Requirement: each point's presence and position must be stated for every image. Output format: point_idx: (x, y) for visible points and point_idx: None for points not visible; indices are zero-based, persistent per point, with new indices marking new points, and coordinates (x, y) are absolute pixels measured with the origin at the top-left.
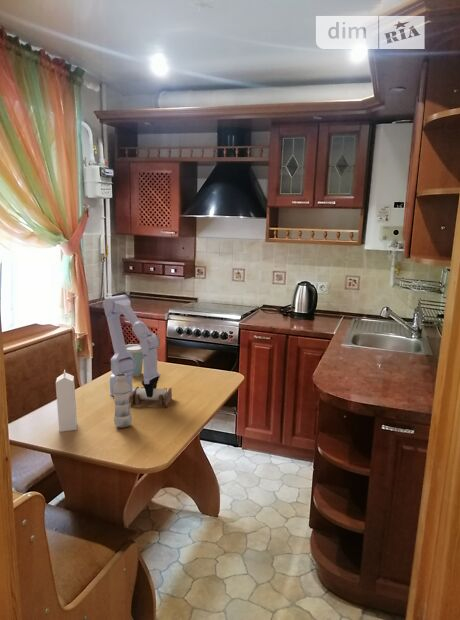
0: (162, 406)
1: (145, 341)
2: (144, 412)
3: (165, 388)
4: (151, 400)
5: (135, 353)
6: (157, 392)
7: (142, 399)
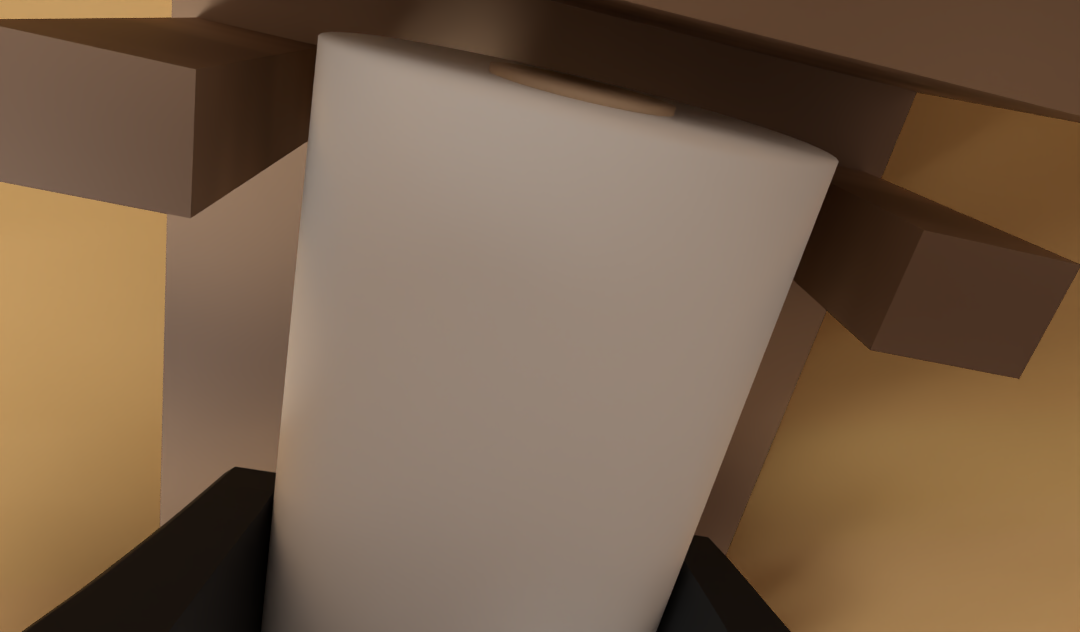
0: (879, 157)
1: None
2: (969, 512)
3: (47, 98)
4: None
5: None
6: (712, 467)
7: None
